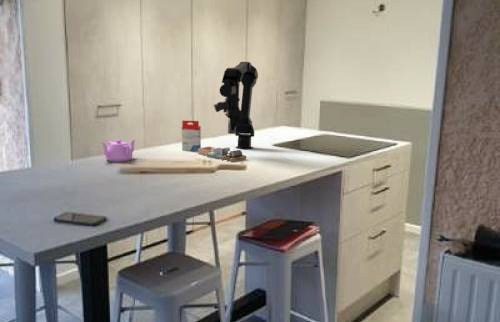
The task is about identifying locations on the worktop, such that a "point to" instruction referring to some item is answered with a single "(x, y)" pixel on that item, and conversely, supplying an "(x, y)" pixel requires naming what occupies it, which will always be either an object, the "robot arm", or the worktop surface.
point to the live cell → (234, 154)
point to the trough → (234, 158)
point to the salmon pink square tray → (204, 150)
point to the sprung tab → (224, 151)
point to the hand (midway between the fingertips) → (231, 129)
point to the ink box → (191, 136)
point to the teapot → (118, 151)
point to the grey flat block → (215, 153)
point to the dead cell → (230, 128)
